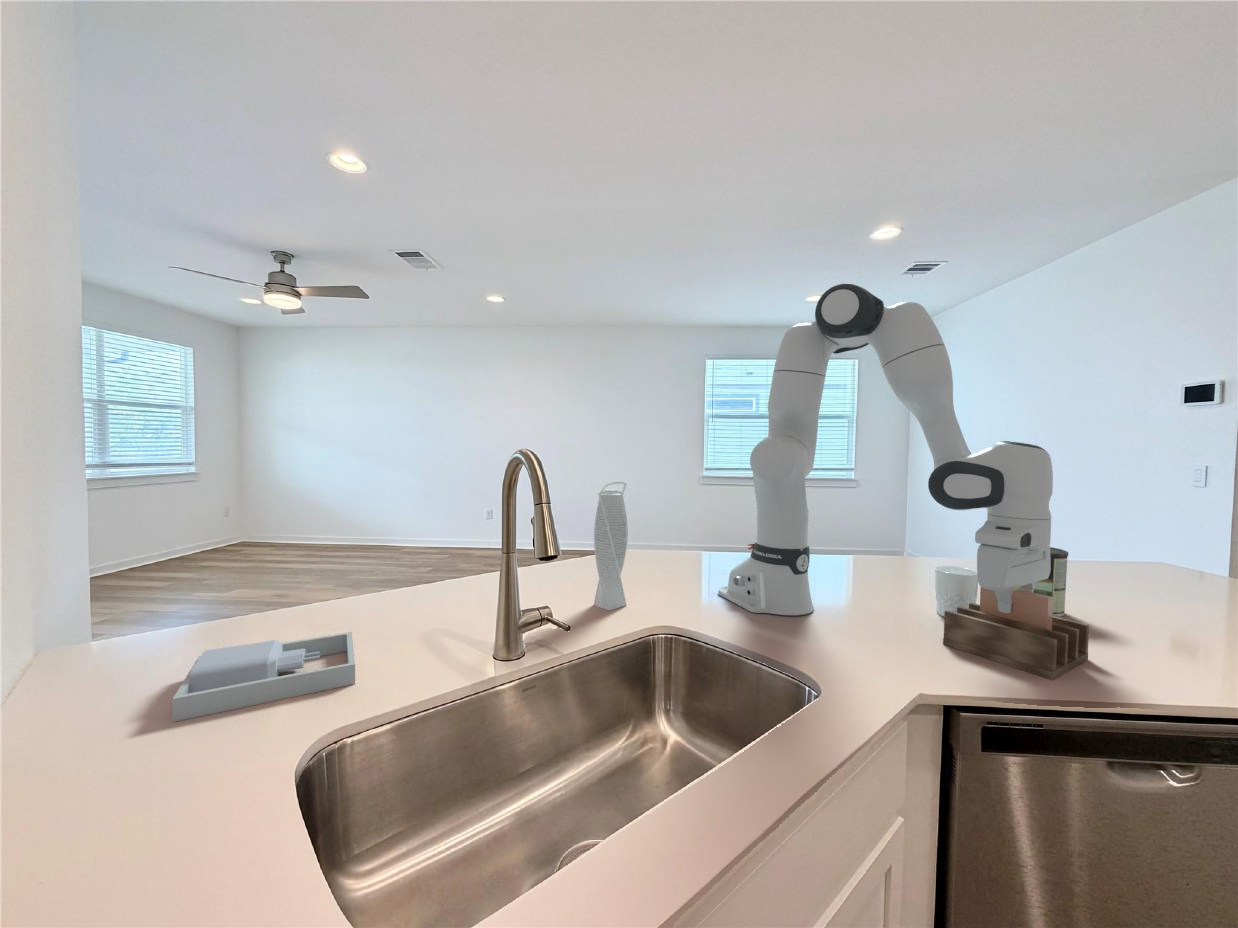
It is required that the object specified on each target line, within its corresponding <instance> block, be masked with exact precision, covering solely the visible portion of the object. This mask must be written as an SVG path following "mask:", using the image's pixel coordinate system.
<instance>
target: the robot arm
mask: <svg viewBox="0 0 1238 928" xmlns="http://www.w3.org/2000/svg"><path fill="white" fill-rule="evenodd" d="M884 305H885V304H884V301H883V300H882V299H880V298H878V297H877V296H875V295H874V294H873V293H871V292H870V291H869V290H867V289H865V288H864V287H862V286H859V285H857V284H853V283H848V282H847V283H840V284H837V285H834V286H832V287H830V288H828V289H827V290H825V292H824V293H823V294H822V295H821V296H820V298H819V299H818V301H817V302H816V306H815V310H814V319H815V321H813V322H809V323H808V322H803V323H797V324H795V325H792V326H791V327H789V328H788V329H787V330H786V331H785V333H784V334H783V338H782V340H781V343H780V345H779V348H778V351H777V355H776V358H775V363H774V368H773V373H772V379H771V384H770V390H769V395H768V396H769V397H768V401H767V411H768V431H767V432H768V434H767V437H765V438H763V439H762V440H761V441H760V442H758V443H756V445H755V447H754V448H753V449H752V451H751V453H750V456H749V464H750V465H749V466H750V468H751V471H752V475H753V476H752V477H753V478H752V479H753V485H754V486H753V487H754V488H753V489H754V494H755V500H756V513H757V514H756V515H757V516H756V521H757V522H756V525H757V526H756V542H754V543H751V544H747V546H748V547H747V550H751V553H750V557H749V558H746V560H744V561H743V562H741V563H739V564H738V565H736V566H735V567H734V568H733V569H731V570H730V573H729V576H728V582H727V583H728V585H726V586H723V587H720V588H719V589H718V592H717V594H718V595H719V596H721V597H723V598H724V599H727V600H729V601H730V602H732V603H734V604H736V605H737V606H739V607H741V608H744V609H745V610H746V611H748V612H751V613H754V614H755V613H756V614H773V615H780V616H802V615H807V614H810V613H813V611H814V610H815V607H814V604H813V600H812V595H811V589H810V588H811V587H810V581H809V572H808V571H809V565H810V546H809V545H808V543H809V540H808V539H809V538H808V537H809V508H808V502H807V493H806V492H807V491H806V477H808V475H810V473H811V472H812V470H813V467H814V464H815V457H816V450H817V441H818V439H817V438H818V430H819V415H820V409H821V404H822V397H823V392H824V387H825V381H826V375H827V369H828V365H829V362H830V358H831V357H832V355H833V354H836V355H837V354H841V353H845V352H849V351H850V352H851V351H854V350H859V349H863V348H865V347H867V346H868V345H870V346H871V347H873V349H874V350H875V352H876V354H877V356H878V358H879V359H878V360H879V362H880V365H881V369H882V370H883V373H884V375H885V378H886V381H887V382H888V385H889V386H890V389H891V390H892V392H893V393H894V394H895V395H896V397H897V399H898V400H899V401H900V402H901V403H902V404H903V405H904V406H905V407H906V408H907V409H908V410H909V411H910V412H911V413H912V414H913V416H914V417H915V418H916V420H917V422H918V423H919V425H920V427H921V429H922V432H923V434H924V437H925V440H926V443H927V445H928V448H929V451H930V453H931V456H932V458H933V459H932V461H933V466H934V467H933V471H932V472H931V473H930V476H929V478H928V481H927V482H928V486H927V487H928V492H929V493H930V496H931V497H932V499H933V500H934V501H936V503H938V504H939V505H941V506H942V507H944V508H946V509H948V510H949V509H950V510H952V511H953V510H954V511H969V510H974V509H986V510H987V515H986V516H987V518H986V521H985V522H984V524H983V525H982V526H981V527H980V528H979V529H977V530H976V531H975V533H974V534H975V535H974V540H975V543H976V544H980V545H978V548H977V552H976V571H977V579H978V586H979V587H980V588H984V589H988V590H992V591H995V595H996V598H997V601H998V610H999V611H1000V612H1003V613H1011V612H1013V607H1014V603H1012V601H1011V594H1012V589H1015V588H1018V587H1019V590H1023V591H1028V592H1034V589H1035V582H1038V581H1041V580H1044V579H1047V578H1048V577H1049V575H1050V570H1051V560H1050V547H1051V535H1052V532H1051V531H1052V513H1051V512H1050V511H1051V510H1050V506H1049V505H1050V502H1051V498H1052V496H1053V489H1054V488H1053V487H1054V486H1053V484H1054V477H1053V476H1054V475H1053V464H1052V463H1053V462H1052V458H1051V455H1050V453H1049V452H1048V451H1046V449H1045V448H1043V447H1041V446H1039V445H1036V444H1030V443H1025V442H1017V441H1010V440H1009V441H1007V440H1002V441H1001V440H1000V441H997V442H995V443H994V444H992V445H990V446H988V447H986V448H984V449H982V450H980V451H976V452H974V453H972V452H971V451H970V449H969V447H968V445H967V442H966V440H965V438H964V437H965V436H964V434H963V432H962V429H961V426H960V424H959V421H958V419H957V416H956V412H955V406H954V381H953V372H952V371H953V370H952V365H951V361H950V356H949V353H948V351H947V348H946V345H945V342H944V340H943V338H942V336H941V333H940V331H939V330H938V327H937V326H936V324H935V322H934V321H933V318H932V317H931V315H930V314H929V312H928V311H927V310H926V308H925V306H923V305H922V304H920V303H918V302H915V301H904V302H898V303H896V304H894V305H891V306H887V307H886V306H884Z"/></svg>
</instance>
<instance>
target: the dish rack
mask: <svg viewBox="0 0 1238 928" xmlns="http://www.w3.org/2000/svg"><path fill="white" fill-rule="evenodd" d="M943 617H944V616H943ZM1089 634H1090V624H1089V623H1085V622H1079V621H1075V620H1072V619H1066V618H1063V617H1055V616H1052V630H1049V629H1045V628H1042V627H1038V626H1034V625H1030V624H1026V623H1022V622H1018V621H1014V620H1011V619H1007V618H1003V617H999V616H995V615H991V614H987V613H984V612H980V603H979V604H978V603H976V604H975V603H969V609H968V608H964V607H960V606H959V607H957V613H956V612H952V611H949V610H947V611H945V617H944V624H943V638H942V644H943V645H945V646H946V647H947V646H948V647H951V648H955V649H956V650H959V651H960V650H961V651H962V652H966V653H970V654H972V655H975V656H979V657H981V658H983V659H987V660H990V661H994V662H997V663H1000V664H1001V665H1002V664H1003V665H1005V666H1008V667H1012V668H1015V669H1018V670H1021V671H1024V672H1026V673H1030V674H1034V675H1036V676H1040V677H1043V678H1045V679H1049V680H1052V681H1053V680H1055V679H1056V678H1059V677H1060V676H1062V675H1064V674H1065V673H1067V672H1069V671H1071V670H1072V669H1074V668H1076V667H1077V666H1079V665H1081V664H1082V663H1085V662H1086V661H1088V659H1089V639H1090V638H1089Z"/></svg>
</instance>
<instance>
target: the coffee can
mask: <svg viewBox="0 0 1238 928" xmlns="http://www.w3.org/2000/svg"><path fill="white" fill-rule="evenodd" d="M1068 556H1069V551H1067V550H1064V549H1062V548H1061V549H1060V548H1058V547H1057V548H1056V547H1051V546H1050V560H1051V570H1050V575H1049V577H1048V578H1047V579H1044V580H1041V581H1038V582H1035V589H1034V592H1033V593H1037V594H1042V595H1047V596H1052V597H1053V614H1052V616H1055V617H1059V618H1062V617H1064V616H1065V615H1066V613H1065V610H1066V592H1067V591H1066V589H1067V573H1068V572H1067V571H1068V570H1067V569H1068ZM1015 589H1019V587H1018V588H1015Z"/></svg>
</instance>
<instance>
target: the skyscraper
mask: <svg viewBox="0 0 1238 928" xmlns="http://www.w3.org/2000/svg"><path fill="white" fill-rule="evenodd" d="M614 485H623V487H622V490H621V491H619V490H618V489H616V488H615V489H613V488H608V487H610V486H614ZM626 487H627V483H626V482H625V481H624V482H623V481H614V482H610V483H607V484H605V486H603V488H602V489H601V491H600V492H599V493H598V502H597V506H596V507H597V508H596V514H595V520H594V527H593V528H594V529H593V543H594V544H593V546H594V555H595V562H596V563H595V566H596V570H597V574H598V575H597V576H598V583H597V587H596V593H595V597H594V602H593V606H595V607H598V608H601V609H603V610H606V611H612V610H616V609H619V608H623V607H627V606H628V605H627V604H628V603H627V601H626V596H625V592H624V588H623V582H622V577H621V575H622V571H623V568H624V565H625V558H626V555H627V554H626V553H627V547H628V533H629V532H628V528H629V527H628V518H627V511H626V505H625V500H624V493H625V490H626Z"/></svg>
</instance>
